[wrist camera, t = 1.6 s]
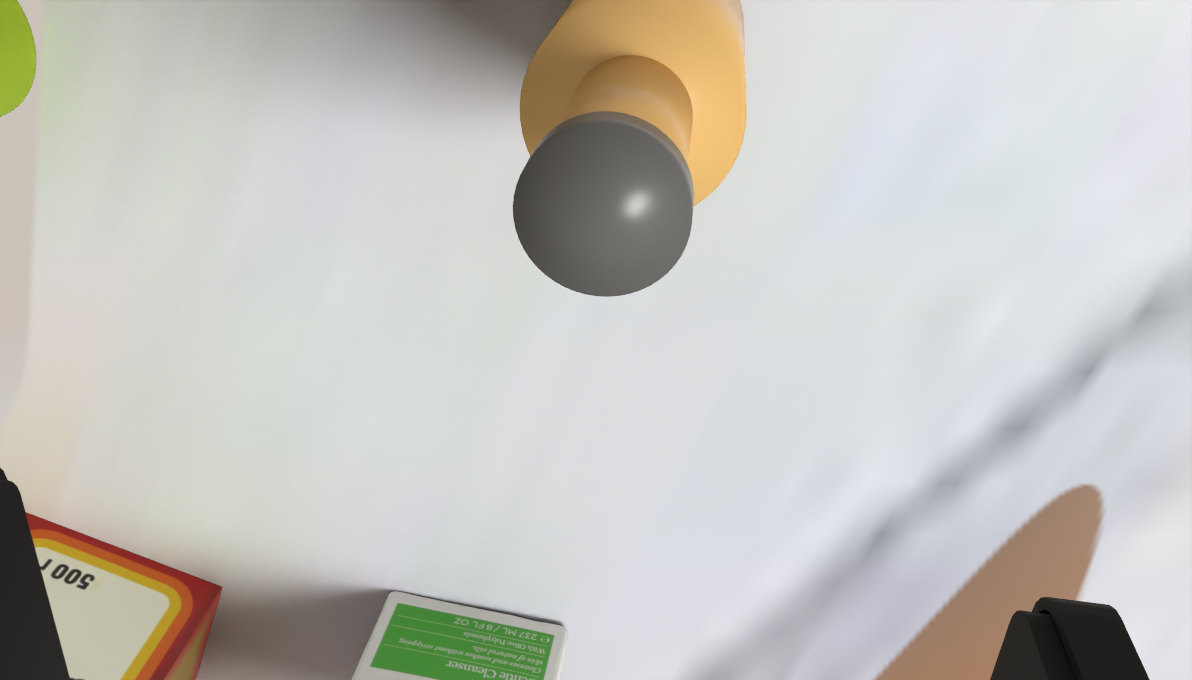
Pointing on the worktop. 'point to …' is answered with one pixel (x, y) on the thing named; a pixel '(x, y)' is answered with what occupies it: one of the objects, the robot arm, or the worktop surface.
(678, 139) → the amber bottle
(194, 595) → the baking soda box
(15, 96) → the soap dispenser
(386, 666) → the skincare box
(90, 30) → the worktop surface
